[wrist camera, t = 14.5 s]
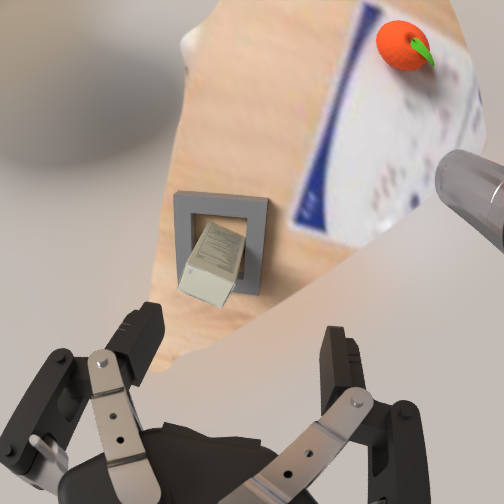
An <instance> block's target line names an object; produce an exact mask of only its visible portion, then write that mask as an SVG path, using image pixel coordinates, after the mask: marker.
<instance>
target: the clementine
mask: <svg viewBox="0 0 504 504" xmlns="http://www.w3.org/2000/svg"><path fill="white" fill-rule="evenodd" d="M376 43H377V48H378V51H379V53H380V55H381V56H382V58H383V59H384V60H385V61H386V62H387V63H388V64H390V65H391V66H393V67H394V68H397V69H399V70H405V71H412V70H416V69H418V68H420V67H422V66H423V65H424V64H425V63H426V62H427V60H428V61H429V62H430V63H431V64H432V66H433V68H434V61H433V58H432V56H431V54H430V47H429V43H428V40H427V38H426V36H425V35H424V33H423V32H422V31H421V30H420V29H419V28H418V27H416V26H415V25H413V24H411V23H409V22H406V21H400V20H397V21H391V22H389V23H386V24H384V25H383V26H382V27H381V28H380V30H379V32H378V34H377V38H376Z"/></svg>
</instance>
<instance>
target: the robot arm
mask: <svg viewBox="0 0 504 504" xmlns="http://www.w3.org/2000/svg"><path fill="white" fill-rule="evenodd" d="M435 186H436V190H437V193H438V196H439V198H440V199H441V200H442V202H443V203H444V204H446V205H447V206H448V207H449V208H451V209H452V210H453V211H454V212H456V213H457V214H458V215H459V216H461V217H462V218H463V219H464V220H465V221H467V222H468V223H469V224H470V225H471V226H473V227H474V228H475V229H476V230H477V231H479V232H480V233H481V234H482V235H483V236H484V237H486V238H487V239H488V240H489V241H490V242H491V243H492V244H493V245H495V246H496V247H497V248H498V249H499V250H500V251H501V252H502V253H503V254H504V166H502V165H499V164H497V163H495V162H492V161H490V160H487V159H485V158H482V157H480V156H478V155H475V154H472V153H469V152H467V151H464V150H455V151H452V152H450V153H448V154H447V155H446V156H445V157H444V158H443V159H442V160H441V162H440V164H439V166H438V168H437V171H436V177H435ZM164 333H165V325H164V319H163V313H162V307H161V305H160V304H158V303H152V302H144V304H143V305H142V307H141V308H140V310H134V311H132V312H131V313H129V314H128V315H127V316H126V318H125V319H124V320H123V322H122V324H121V325H120V326H119V328H118V330H117V331H116V332H115V334H114V335H113V337H112V338H111V340H110V342H109V343H108V344H107V346H106V347H105V349H101V350H98V351H95V352H93V353H92V354H91V355H90V356H89V357H74V356H73V354H72V352H71V351H70V350H68V349H65V348H60V349H57V350H55V351H53V352H52V353H51V354H50V355H49V357H48V358H47V360H46V361H45V363H44V364H43V366H42V367H41V369H40V370H39V372H38V374H37V375H36V377H35V378H34V380H33V381H32V383H31V385H30V386H29V388H28V389H27V391H26V393H25V395H24V396H23V398H22V399H21V401H20V403H19V405H18V406H17V408H16V410H15V412H14V413H13V415H12V417H11V418H10V420H9V422H8V424H7V426H6V428H5V429H4V431H3V433H2V435H1V437H0V462H1V463H2V464H3V465H4V466H6V467H7V468H8V469H9V470H10V471H11V472H12V473H14V474H15V475H16V476H18V477H19V478H21V479H22V480H23V481H25V482H26V483H29V484H30V485H32V486H33V487H35V488H37V489H39V490H46V491H49V492H50V493H52V494H54V495H56V496H58V502H59V504H318V503H317V501H315V499H314V498H313V497H312V496H311V494H310V493H309V492H308V490H307V488H308V487H309V486H310V485H311V484H312V483H313V482H314V481H315V480H316V479H317V478H318V477H319V476H320V475H321V473H322V472H323V471H324V470H325V469H326V468H327V466H328V465H329V464H330V463H331V462H332V461H333V459H334V458H335V457H336V456H337V455H338V454H339V453H340V451H341V450H342V449H343V448H344V447H345V445H346V444H347V443H348V442H349V441H352V442H356V443H359V444H363V445H366V446H368V504H431V496H430V483H429V473H428V464H427V456H426V448H425V442H424V435H423V429H422V423H421V417H420V412H419V409H418V408H417V406H416V405H415V404H413V403H412V402H410V401H407V400H400V401H398V402H396V403H395V404H393V406H392V405H388V404H385V403H381V402H378V401H376V400H374V399H373V397H372V395H371V394H370V393H369V392H368V391H367V390H366V386H365V380H364V375H363V369H362V364H361V357H360V352H359V348H358V345H357V344H356V342H355V341H354V339H353V338H345V332H344V328H343V327H337V326H327V329H326V332H325V336H324V339H323V343H322V347H321V350H320V358H319V362H320V383H321V384H320V386H321V416H322V417H321V418H320V419H319V420H318V421H315V422H313V423H312V424H311V425H310V426H309V427H308V428H307V429H306V430H305V431H304V432H303V433H302V434H301V435H300V436H299V437H298V438H297V439H296V440H295V441H294V442H293V443H292V444H291V445H289V446H288V447H287V448H286V449H285V450H284V451H283V452H282V453H281V454H280V455H277V454H276V453H275V452H273V451H272V450H270V449H268V448H266V447H263V446H260V445H261V440H260V439H251V438H243V437H219V438H218V437H217V438H210V437H207V436H205V435H203V434H200V433H198V432H196V431H194V430H192V429H190V428H187V427H183V426H179V425H175V424H171V423H167V422H164V424H163V427H162V428H152V429H147V430H143V428H142V426H141V424H140V421H139V418H138V415H137V413H136V410H135V407H134V404H133V401H132V398H131V395H130V392H129V389H130V387H131V385H134V386H137V387H139V386H140V384H141V382H142V380H143V378H144V376H145V374H146V372H147V370H148V368H149V366H150V364H151V362H152V360H153V358H154V356H155V354H156V352H157V350H158V348H159V346H160V344H161V342H162V340H163V337H164ZM89 399H91V400H92V405H93V410H94V414H95V418H96V423H97V427H98V431H99V435H100V438H101V442H102V446H103V449H104V452H103V453H101V454H99V455H97V456H95V457H93V458H91V459H89V460H87V461H85V462H84V463H81V464H79V465H77V466H75V467H73V468H71V469H70V470H68V456H67V454H66V452H65V451H66V448H67V446H68V444H69V442H70V439H71V437H72V435H73V433H74V430H75V428H76V426H77V424H78V422H79V419H80V417H81V415H82V413H83V411H84V409H85V407H86V405H87V403H88V401H89ZM67 470H68V471H67Z"/></svg>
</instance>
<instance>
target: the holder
mask: <svg viewBox="0 0 504 504" xmlns="http://www.w3.org/2000/svg"><path fill="white" fill-rule="evenodd" d="M173 198H174V227H175V246H176V263H177V277H178V283H179V280H180V277H181V274H182V272H183V269H184V267H185V265H186V262H187V261H188V259H189V257H190V255H191V253H192V251H193V250H194V248H195V213H198V214H209V215H220V216H231V217H241V218H247V230H246V246H245V262H244V273H240V272H238V275H237V280H236V284H235V287H234V289H233V291H232V292H236V293H244V294H252V295H259V289H260V279H261V269H262V259H263V248H264V238H265V227H266V216H267V205H268V198H262V197H252V196H241V195H230V194H218V193H205V192H191V191H177V192H176V193H175V194H174V195H173Z"/></svg>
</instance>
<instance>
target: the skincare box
mask: <svg viewBox="0 0 504 504" xmlns="http://www.w3.org/2000/svg"><path fill="white" fill-rule="evenodd" d="M245 241H246V238H245V237H243V236H241V235H239V234H237V233H234V232H232V231H230V230H228V229H225V228H223V227H221V226H218V225H216V224H213V223H211V222H208V224H207V226H206V228H205V229H204V231H203V233H202V235H201V237H200V238H199V240H198V242H197V244H196V246H195V248H194V250H193V251H192V253H191V255H190V257H189V259H188V261H187V262H186V265H185V267H184V269H183V272H182V274H181V277H180V280H179V283H178V286H177V290H179V291H181V292H183V293H185V294H188V295H190V296H192V297H194V298H197V299H199V300H201V301H204V302H206V303H209V304H211V305H214V306H216V307H219V308H223V306H224V304H225V303H226V301H227V300H228V298H229V296H230V294H231V293H232V291H233V289H234V287H235V284H236V280H237V275H238V271H239V267H240V263H241V258H242V254H243V250H244V245H245Z"/></svg>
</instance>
